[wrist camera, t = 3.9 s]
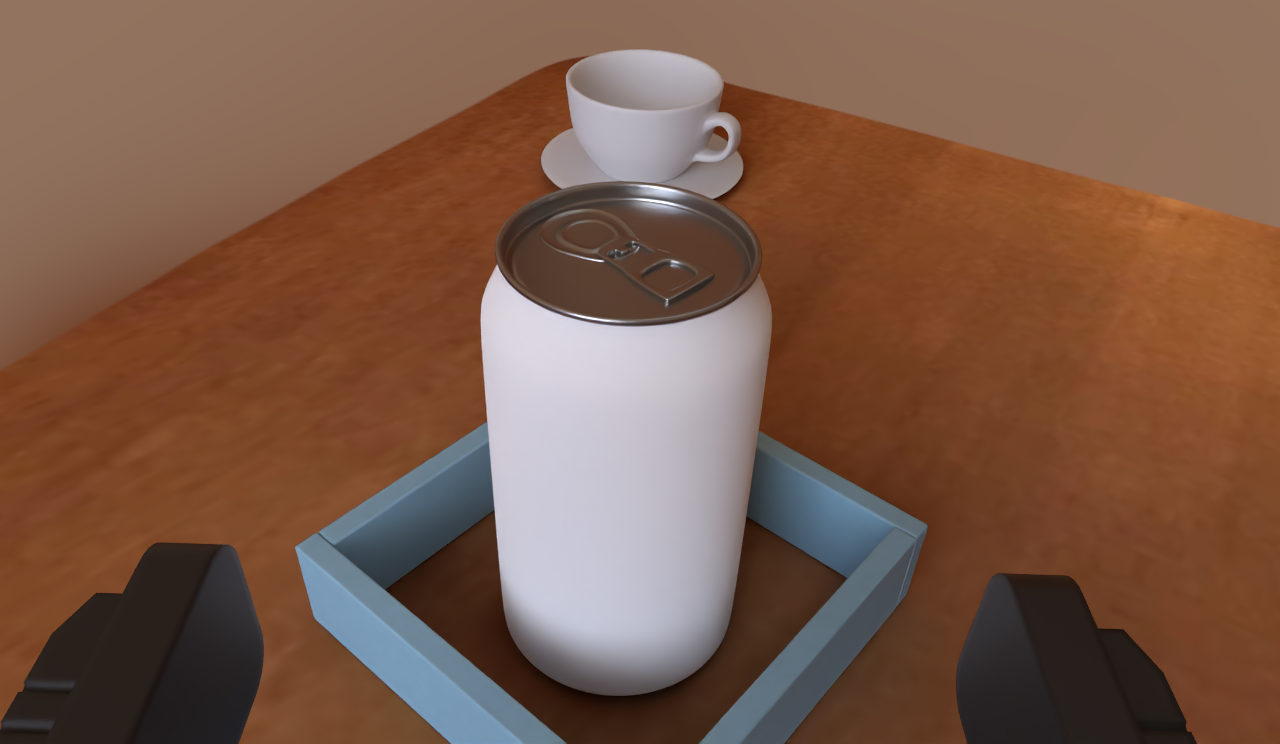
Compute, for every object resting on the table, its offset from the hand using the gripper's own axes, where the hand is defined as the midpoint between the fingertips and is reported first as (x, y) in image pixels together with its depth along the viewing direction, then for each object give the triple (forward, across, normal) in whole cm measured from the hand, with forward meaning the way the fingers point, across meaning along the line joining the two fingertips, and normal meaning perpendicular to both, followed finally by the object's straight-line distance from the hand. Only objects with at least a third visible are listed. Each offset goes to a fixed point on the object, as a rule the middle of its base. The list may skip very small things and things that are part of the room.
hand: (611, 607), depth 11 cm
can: (+11, 0, +14) cm, 18 cm away
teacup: (+38, -1, +14) cm, 41 cm away
